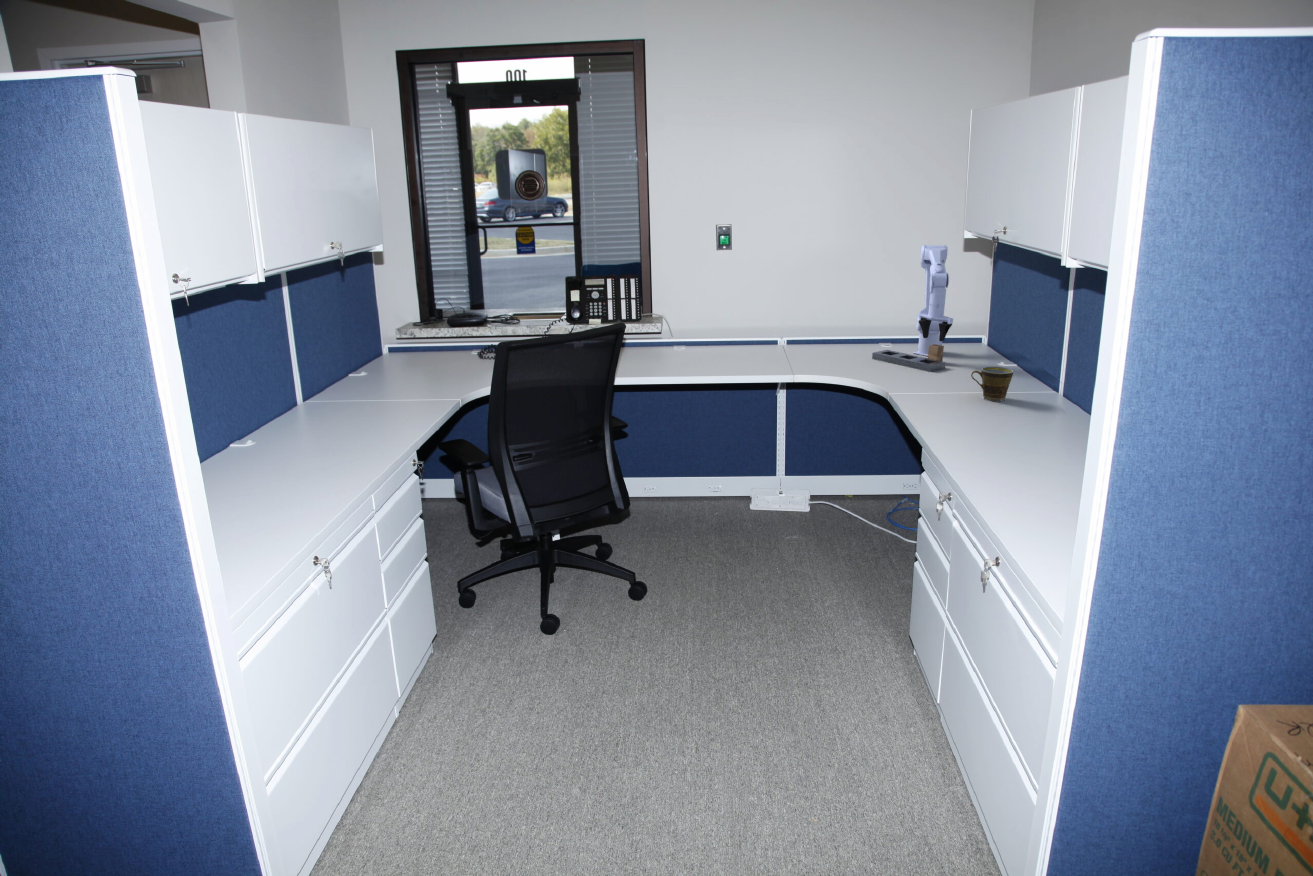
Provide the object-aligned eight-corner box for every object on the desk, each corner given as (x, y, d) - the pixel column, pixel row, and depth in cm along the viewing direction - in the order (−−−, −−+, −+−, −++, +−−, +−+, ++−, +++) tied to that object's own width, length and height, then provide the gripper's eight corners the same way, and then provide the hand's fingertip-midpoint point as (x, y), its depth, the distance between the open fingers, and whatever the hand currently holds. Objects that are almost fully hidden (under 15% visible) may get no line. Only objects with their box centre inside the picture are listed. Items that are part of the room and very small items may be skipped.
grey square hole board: (886, 355, 346) (887, 349, 345) (945, 368, 324) (945, 362, 323) (872, 358, 341) (872, 352, 340) (930, 371, 319) (931, 365, 318)
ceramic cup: (1007, 395, 287) (1010, 367, 284) (1012, 403, 278) (1015, 374, 274) (966, 393, 290) (970, 365, 286) (970, 401, 280) (973, 372, 277)
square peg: (933, 361, 335) (935, 344, 333) (942, 363, 332) (943, 345, 330) (927, 362, 333) (928, 345, 331) (935, 364, 330) (937, 347, 328)
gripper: (914, 303, 329) (911, 337, 333) (946, 308, 318) (942, 343, 322) (926, 301, 333) (923, 335, 337) (957, 306, 322) (954, 341, 326)
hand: (933, 339), depth 330 cm, fingers open, 7 cm apart
